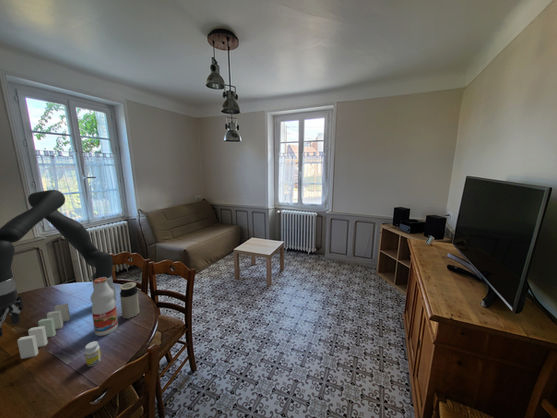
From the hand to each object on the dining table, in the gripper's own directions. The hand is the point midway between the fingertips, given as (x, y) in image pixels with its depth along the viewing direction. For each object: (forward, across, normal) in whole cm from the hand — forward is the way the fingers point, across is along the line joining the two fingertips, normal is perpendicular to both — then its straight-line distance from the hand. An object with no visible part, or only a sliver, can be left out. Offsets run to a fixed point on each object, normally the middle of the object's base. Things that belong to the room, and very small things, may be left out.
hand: (7, 329), depth 84 cm
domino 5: (+18, +31, 0) cm, 36 cm away
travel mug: (+18, +26, -33) cm, 46 cm away
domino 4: (+18, +25, 0) cm, 31 cm away
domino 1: (+18, +7, 0) cm, 20 cm away
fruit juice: (+18, +16, -25) cm, 35 cm away
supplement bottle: (+18, -5, -28) cm, 34 cm away
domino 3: (+18, +19, 0) cm, 26 cm away
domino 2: (+18, +13, 0) cm, 23 cm away
